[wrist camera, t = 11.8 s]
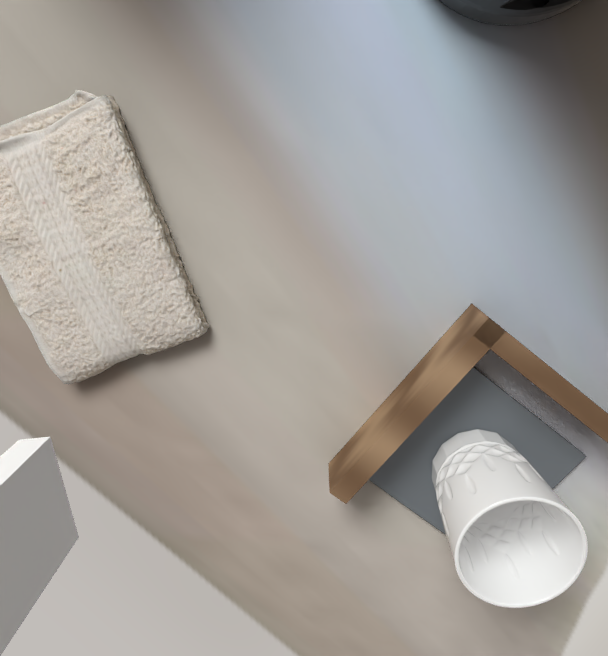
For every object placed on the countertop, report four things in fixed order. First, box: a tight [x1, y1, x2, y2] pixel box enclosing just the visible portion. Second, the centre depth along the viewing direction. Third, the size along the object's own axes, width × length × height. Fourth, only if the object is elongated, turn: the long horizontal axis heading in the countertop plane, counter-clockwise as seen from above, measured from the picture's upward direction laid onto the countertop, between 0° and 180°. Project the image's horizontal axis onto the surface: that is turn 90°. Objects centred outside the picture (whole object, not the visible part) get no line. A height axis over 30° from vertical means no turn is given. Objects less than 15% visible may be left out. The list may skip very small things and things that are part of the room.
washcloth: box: [0, 90, 210, 384], centre depth 37 cm, size 12×18×3 cm, turn 20°
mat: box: [369, 367, 586, 535], centre depth 42 cm, size 12×12×1 cm
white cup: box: [432, 429, 588, 608], centre depth 37 cm, size 8×8×10 cm
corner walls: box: [329, 304, 608, 504], centre depth 39 cm, size 16×14×4 cm
